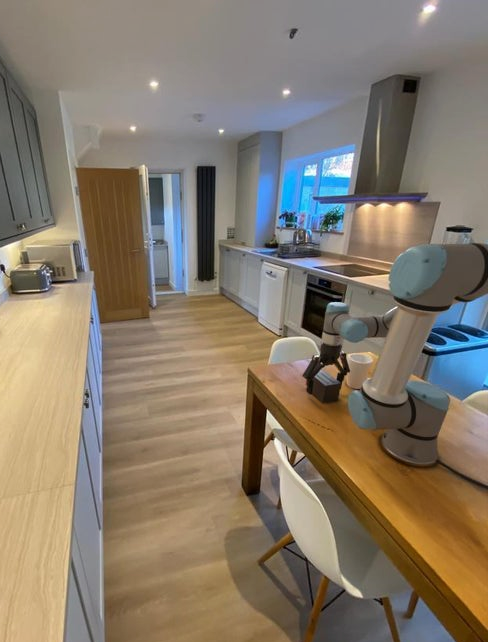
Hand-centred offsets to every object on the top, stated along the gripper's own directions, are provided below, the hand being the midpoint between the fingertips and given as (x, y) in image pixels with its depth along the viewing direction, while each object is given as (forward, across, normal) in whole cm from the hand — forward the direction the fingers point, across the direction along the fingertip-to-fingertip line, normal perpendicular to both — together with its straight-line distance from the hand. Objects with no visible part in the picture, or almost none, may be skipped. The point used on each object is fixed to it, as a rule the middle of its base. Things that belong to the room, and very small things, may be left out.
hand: (323, 390), depth 133 cm
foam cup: (+2, +18, +3) cm, 19 cm away
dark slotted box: (+2, 0, +1) cm, 3 cm away
